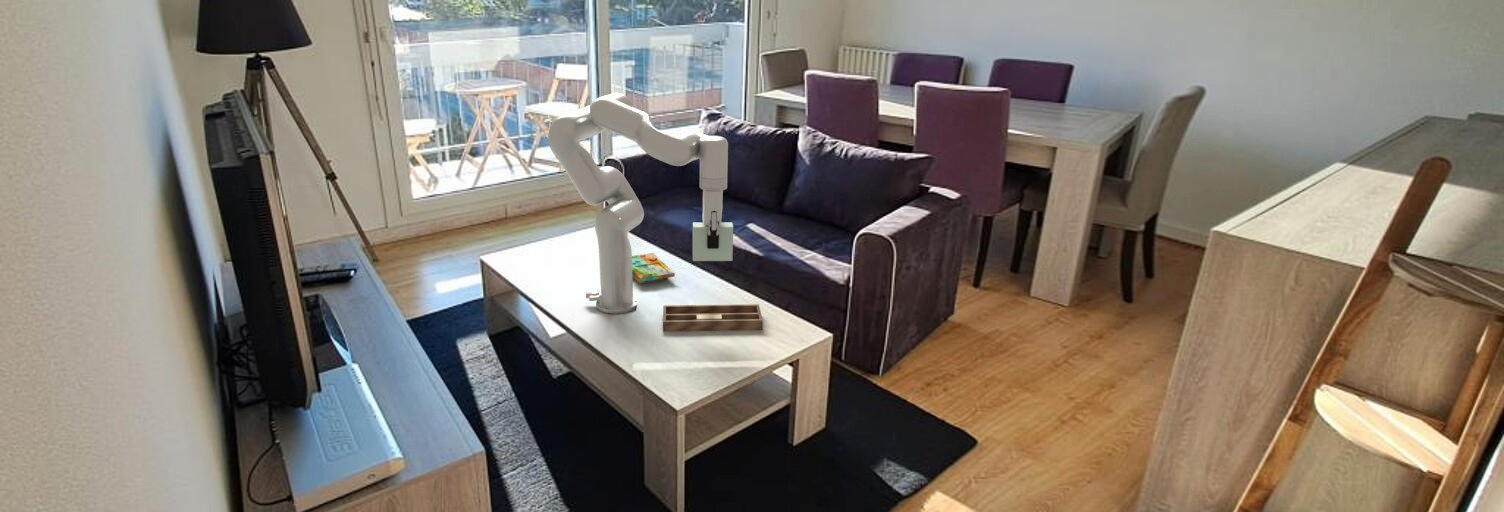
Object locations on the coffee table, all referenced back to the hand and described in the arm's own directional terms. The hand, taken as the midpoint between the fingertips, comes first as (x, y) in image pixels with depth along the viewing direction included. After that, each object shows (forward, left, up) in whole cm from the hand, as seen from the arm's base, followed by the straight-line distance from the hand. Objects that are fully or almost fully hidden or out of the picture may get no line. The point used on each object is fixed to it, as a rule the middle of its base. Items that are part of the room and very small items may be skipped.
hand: (712, 244), depth 219 cm
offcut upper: (-1, -5, -21) cm, 22 cm away
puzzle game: (-20, +37, -25) cm, 49 cm away
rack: (0, -2, -24) cm, 24 cm away
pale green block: (0, 0, -4) cm, 4 cm away
